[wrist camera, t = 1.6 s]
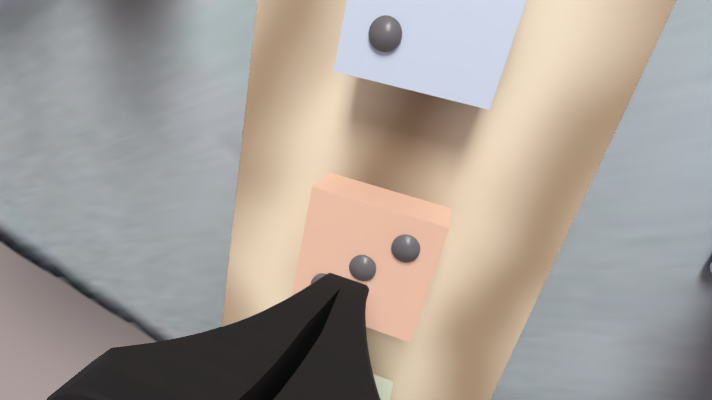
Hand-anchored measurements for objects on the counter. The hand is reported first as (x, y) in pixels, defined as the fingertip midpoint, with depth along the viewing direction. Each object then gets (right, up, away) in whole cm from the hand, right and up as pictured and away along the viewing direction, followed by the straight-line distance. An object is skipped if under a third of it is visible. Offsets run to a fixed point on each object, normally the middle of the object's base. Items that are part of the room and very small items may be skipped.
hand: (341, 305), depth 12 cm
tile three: (+1, +1, +4) cm, 5 cm away
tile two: (+3, +10, +1) cm, 10 cm away
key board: (+2, +2, +7) cm, 7 cm away
